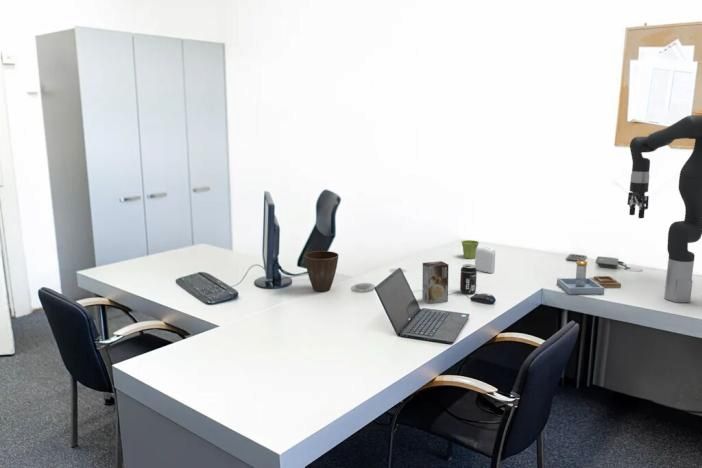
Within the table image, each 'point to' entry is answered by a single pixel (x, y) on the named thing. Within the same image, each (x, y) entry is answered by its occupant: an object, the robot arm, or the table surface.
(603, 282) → the brown stepped base
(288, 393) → the table surface
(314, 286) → the plant pot
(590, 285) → the tray
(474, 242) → the plant pot
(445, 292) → the coffee box
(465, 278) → the beverage can
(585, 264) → the lock pin
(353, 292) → the table surface
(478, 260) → the photo printer
